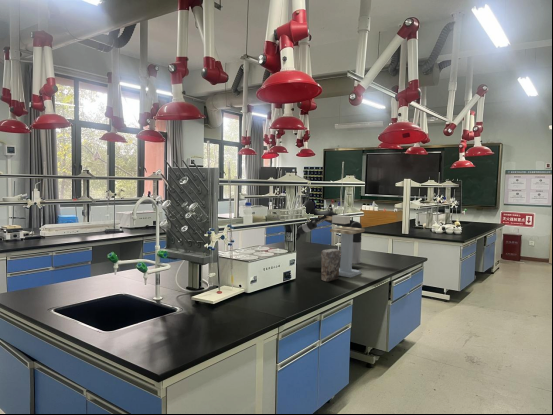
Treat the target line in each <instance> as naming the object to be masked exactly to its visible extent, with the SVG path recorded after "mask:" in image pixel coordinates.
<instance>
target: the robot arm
mask: <svg viewBox="0 0 553 415" xmlns="http://www.w3.org/2000/svg"><path fill="white" fill-rule="evenodd" d="M303 204H304V205H305V207H306V213H307V214H309V213H310V214H314V215H324V216H322V217H320V218H315V219H314V218H311V219H312V220H311V221H310V222H308V223H305V224H302V225H300V226H299V227H298V229H297V238H296V241H295V242H297V241H298V240H300V237H301V235H305V234H306V233H309V232H311V231H313V230H315V229H316V228H317V227H318V225H319V224H321V223H323V222H327V223H329V224H331V225H334V226H339V227H352V228H361V229H363V225H362V224H361V222H360V221H357V220H356V221H355V220H352V219H350V223H348V224H339V223H332V220H322V219H325V218H327V216H330V217H332V216H334V215H339V214H338V213H336V212H334V211H331V210H323V211H320V210H317V209H315V203H314V202H313V201H312V200H311V199H310V200H305V201H304V202H303ZM362 233H363V232H360V233H356V234H353V249H352V265H353V264H355V265H356V264H361V259H362V258H361V257H362V256H361V254H362Z"/></svg>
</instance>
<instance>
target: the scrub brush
mask: <svg viewBox="0 0 553 415" xmlns="http://www.w3.org/2000/svg"><path fill="white" fill-rule="evenodd" d="M320 217H322V216H318V218H320ZM322 220H332V223H339V224H348V223H350V220H351V216H350V215H341V214H338V215H334V216H332V217H330V216H327V218H325V219H322Z"/></svg>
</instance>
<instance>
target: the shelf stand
mask: <svg viewBox="0 0 553 415" xmlns="http://www.w3.org/2000/svg"><path fill="white" fill-rule="evenodd" d="M365 230H366V229H365V228H362V229H361V228H352V227H342V226H339V227H335V228H330V229H329V232H330V233H335V234H341V236H340V237H341V238H340V239H341V242H340V252H341V253H340V263H339V276H341V277H347V278H350V279H351V278H353V277H356V276H358V275H361V274H362V270H360V269H359V270H358V269H353V268H352V267H353V263H352V249H353V234H356V233H360V232H362V233H364V232H365Z"/></svg>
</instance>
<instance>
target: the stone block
mask: <svg viewBox="0 0 553 415" xmlns="http://www.w3.org/2000/svg"><path fill="white" fill-rule="evenodd" d="M320 254H321V255H320V258H321V259H320V260H321V269H320V271H321V272H320V273H321V280H322V281H324V282H331V281H335V280H338V279H339V276H340V275H339V268H340V260H341V249H340V250H339V249H336V248H329V249H323V250H322V251H321V252H320Z"/></svg>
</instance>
